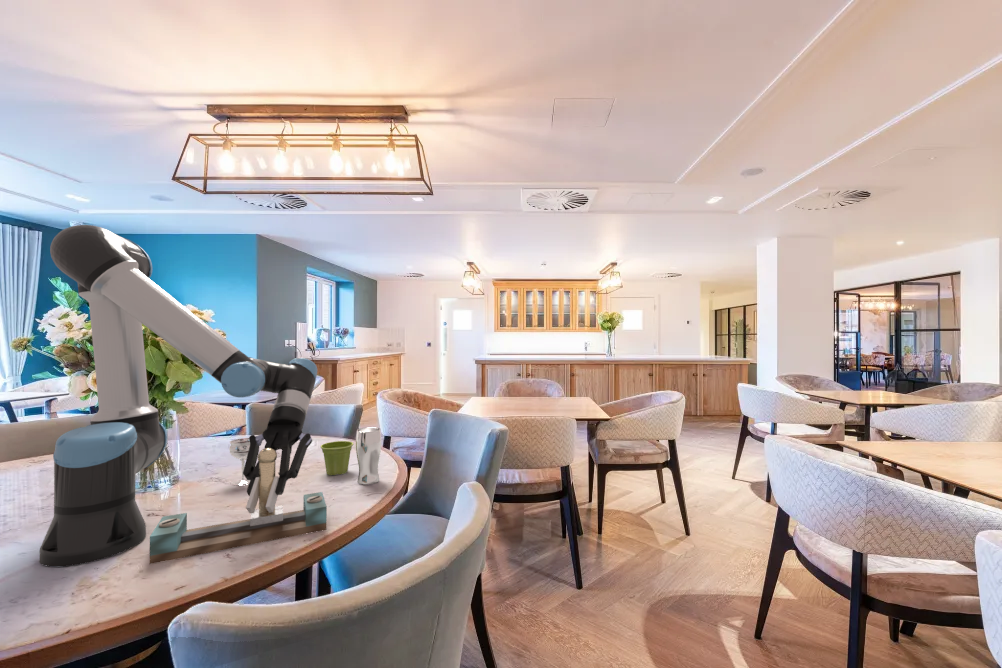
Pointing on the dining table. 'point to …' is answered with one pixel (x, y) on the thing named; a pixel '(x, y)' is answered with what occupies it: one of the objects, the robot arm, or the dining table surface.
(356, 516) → the dining table surface
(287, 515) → the rail track
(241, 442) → the wineglass
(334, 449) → the plant pot
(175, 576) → the dining table surface
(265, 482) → the knob-topped peg
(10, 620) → the dining table surface
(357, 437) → the beer glass
